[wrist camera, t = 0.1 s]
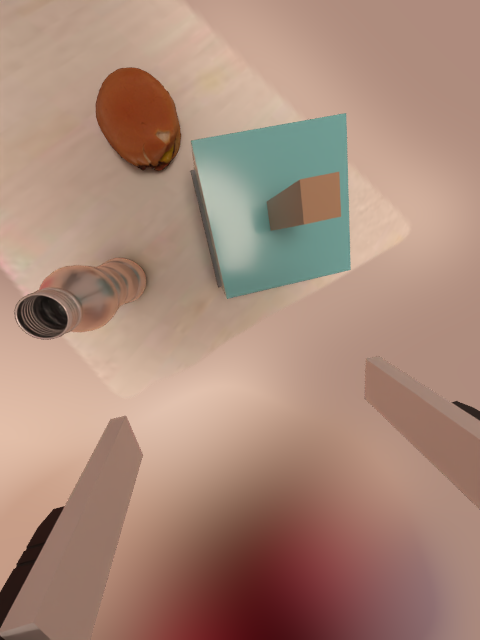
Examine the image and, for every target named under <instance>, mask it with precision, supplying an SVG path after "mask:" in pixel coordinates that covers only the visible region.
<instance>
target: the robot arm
mask: <svg viewBox="0 0 480 640" xmlns="http://www.w3.org/2000/svg"><path fill="white" fill-rule="evenodd" d="M365 400H367V401H368V402H369V403H370V404H371V405H372V406H373V407H374V408H375V409H376V410H377V411H378V412H379V413H380V414H381V415H382V416H383V417H384V418H385V419H386V420H387V421H388V422H389V423H390V424H391V425H393V426H394V427H395V428H396V429H397V430H398V431H399V432H400V433H401V434H402V435H403V436H404V437H405V438H406V439H407V440H408V441H409V442H410V443H411V444H412V445H413V446H414V447H415V448H416V449H417V450H418V451H420V452H421V453H422V454H423V455H424V456H425V457H426V458H427V459H428V460H429V461H430V462H431V463H432V464H433V465H434V466H435V467H436V468H437V469H438V470H439V471H440V472H441V473H442V474H443V475H444V476H446V477H447V478H448V479H449V480H450V481H451V482H452V483H453V484H454V485H455V486H456V487H457V488H458V489H459V490H460V491H461V492H462V493H463V494H464V495H465V496H466V497H467V498H468V499H469V500H470V501H471V502H472V503H474V504H475V505H476V506H477V507H478V508H479V509H480V411H478V410H477V409H475V408H473V407H470V406H468V405H465V404H463V403H460V402H458V401H455V402H452V403H451V402H450V401H448V400H446V399H445V398H443V397H442V396H440V395H439V394H437V393H436V392H434V391H433V390H431V389H429V388H428V387H426V386H425V385H423V384H422V383H420V382H418V381H417V380H415V379H414V378H412V377H411V376H409V375H408V374H406V373H405V372H403V371H401V370H400V369H398V368H397V367H395V366H394V365H392V364H390V363H389V362H387V361H386V360H384V359H383V358H381V357H380V356H376V357H372V358H367V359H366V369H365ZM142 457H143V454H142V452H141V449H140V447H139V445H138V442H137V440H136V438H135V435H134V433H133V431H132V428H131V426H130V424H129V421H128V419H127V417H126V416H123V417H119V418H114V419H111V420H110V421H109V423H108V425H107V427H106V429H105V431H104V433H103V435H102V437H101V439H100V440H99V442H98V444H97V446H96V448H95V450H94V452H93V454H92V455H91V457H90V459H89V461H88V463H87V465H86V467H85V469H84V471H83V473H82V474H81V477H80V478H79V480H78V482H77V484H76V486H75V488H74V490H73V492H72V493H71V495H70V497H69V499H68V501H67V503H66V505H65V506H64V507H60V508H56V509H53V510H52V512H51V513H50V514H49V515H48V516H47V518H46V519H45V520H44V521H43V522H42V523H41V524H40V526H39V527H38V528H37V530H36V532H35V533H34V535H33V537H32V539H31V540H30V542H29V544H28V546H27V549H26V551H24V552H23V554H22V556H21V558H20V559H19V561H18V563H17V567H16V568H15V569H13V571H12V573H11V575H10V576H9V578H8V580H7V581H6V583H5V585H4V587H3V588H2V590H1V592H0V640H90V638H91V635H92V631H93V628H94V625H95V621H96V617H97V614H98V610H99V607H100V603H101V600H102V596H103V593H104V589H105V586H106V582H107V579H108V576H109V572H110V569H111V565H112V562H113V558H114V555H115V551H116V548H117V544H118V541H119V537H120V534H121V530H122V526H123V523H124V519H125V516H126V513H127V509H128V505H129V502H130V498H131V495H132V492H133V488H134V485H135V481H136V477H137V474H138V471H139V467H140V464H141V460H142Z"/></svg>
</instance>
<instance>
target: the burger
mask: <svg viewBox="0 0 480 640" xmlns="http://www.w3.org/2000/svg"><path fill="white" fill-rule="evenodd" d="M96 118H97V121H98V124H99V126H100V129H101V131H102V132H103V134H104V135H105V137H106V139H107V140H108V142H109V143H110V145H111V146H112V147H113V148H114V149H115V150H116V151H117V152H118V154H119V155H120V156H121V157H122V158H124V159H125V160H126V161H128V162H129V163H131V164H133V165H135V166H137V167H138V168H140V169H142V170H145V169H146V167H149V168H152V169H153V168H155V170H157V171H160V170H163V169H164V168H165V167H166V166H168V165H169V163H170V161H171V160H172V159H173V158H174V157H175V156H176V154H177V152H178V150H179V147H180V139H181V133H180V125H179V121H178V117H177V113H176V107H175V104H174V101H173V100H172V98H171V96H170V95H169V92H168V91H166V90H165V89H164V86H163V85H161V84H160V82H159V81H158V80H156V79H155V78H154V77H153V76H152V75H150V74H149V73H147V72H145V71H143V70H141V69H138V68H132V67H131V68H120V69H117V70H116V71H114V72H113V73H111V74H110V75H109V76H108V77H107V78H106V79H105V80H104V82H103V83H102V87H101V88H100V90H99V94H98V97H97V101H96Z"/></svg>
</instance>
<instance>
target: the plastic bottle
mask: <svg viewBox="0 0 480 640" xmlns="http://www.w3.org/2000/svg"><path fill="white" fill-rule="evenodd" d="M145 286H146V276H145V273H144V271H143V270H142V268H141V267H140V266H139V265H138V264H137V263H135V262H133V261H131V260H128V259H125V258H114V259H111V260H109V261H107V262H105V263H103V264H102V265H101V266H98V267H90V266H81V265H74V266H65V267H62V268H59V269H57V270H56V271H54V272H52V273H51V274H50V275H49V276H48V277H47V278H46V279H45V280H44V281H43V283H42V284H41V286H40V289H39V290H38V291H36V292H34V293H32V294H28V295H27V296H25V297H23V298H22V299H21V300H19V302H18V303H17V305H16V307H15V313H14V314H15V319H16V322H17V324H18V325H19V327H20V328H21V329H22V330H23V331H24V332H25V333H27V334H28V335H30V336H32V337H35V338H38V339H43V340H44V339H45V340H49V339H54V338H57V337H60V336H62V335H64V334H65V333H68V332H70V331H72V332H86V331H92V330H95V329H98V328H100V327H102V326H104V325H105V324H106V323H107V322H109V321H110V319H111V318H112V317H113V316H114V314H115V313H116V311H117V310H118V308H119V307H120V306H121V305H123V304H126V303H129V302H132V301H134V300H136V299H138V298H139V297H140V296H141V295H142V293H143V292H144V289H145Z"/></svg>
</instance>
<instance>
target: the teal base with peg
mask: <svg viewBox="0 0 480 640" xmlns="http://www.w3.org/2000/svg"><path fill="white" fill-rule="evenodd" d="M191 145H192V153H193V161H194V170H195V176H196V180H197V185H198V189H199V193H200V198H201V202H202V206H203V210H204V215H205V219H206V223H207V228H208V232H209V236H210V241H211V245H212V249H213V253H214V258H215V262H216V266H217V271H218V275H219V279H220V284H221V286H222V288H223V291H224V293H225V295H226V298H227V299H229V298H233V297H237V296H241V295H246V294H250V293H254V292H258V291H263V290H267V289H271V288H275V287H280V286H284V285H288V284H292V283H297V282H301V281H305V280H309V279H314V278H318V277H322V276H326V275H331V274H335V273H339V272H343V271H348V270H351V269H350V233H349V198H348V163H347V127H346V113H345V114H339V115H333V116H327V117H322V118H316V119H310V120H305V121H299V122H293V123H288V124H282V125H277V126H271V127H265V128H260V129H254V130H248V131H243V132H237V133H231V134H226V135H220V136H215V137H209V138H203V139H198V140H192V141H191Z"/></svg>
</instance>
